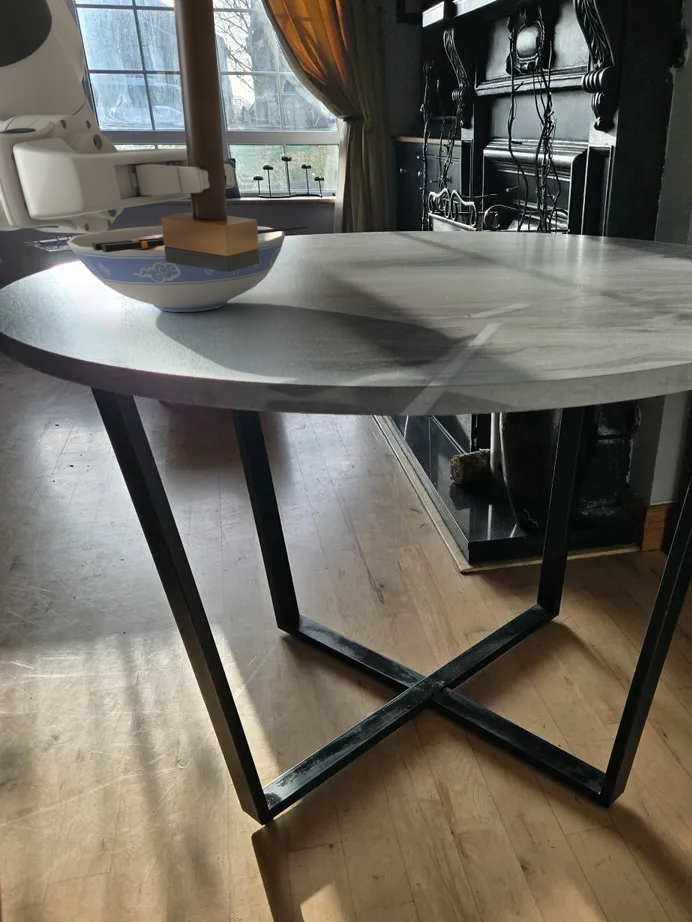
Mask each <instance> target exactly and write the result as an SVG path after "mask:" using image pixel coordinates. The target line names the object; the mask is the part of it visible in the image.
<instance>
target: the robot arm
mask: <svg viewBox="0 0 692 922" xmlns="http://www.w3.org/2000/svg"><path fill="white" fill-rule="evenodd" d="M84 74H85V53H84V46H83V41H82V38H81V34H80V32H79V28H78V26H77V23H76V21H75V19H74V16H73V15H72V13H71V11H70V10H69V8H68V5H66V3H65V2H64V0H0V232H2V231H3V232H7V231H9V232H11V231H12V232H13V231H17V230H20V229H34V230H36V231H39V232H44V233H61V234H63V233H64V234H89V233H90V234H97V233H101V232H104V231H108V229H110V228H111V226H112V224H113V223H114V222H115V220H116V218H117V217H118V216H119V215H121V213H122V212H123V211H124V209H127V208H133V207H140V206H146V205H152V204H159V203H166V202H172V201H178V200H186V199H191V194H190V193H201V192H206V191H208V190H209V188H210V182H209V180H208V177H209V175H208V171H207V169H206V168H204V167H192V166H188V160H187V149H186V148H137V149H117V147H116V146H115V144H114V143H113V142H112V141H111V140H110V139H109V138H108V137H107V136H106V135H104V134H102V131H101V129H100V126H99V124H98V122H97V119H96V117H95V114H94V112H93V109H92V108H91V105H90V103H89V100H88V98H87V96H86V94H85V91H84V89H83V86H82V81H83V79H84ZM224 175H225V190H226V189H233V188H234V187H235V185H236V181H235V179H236V178H235V171H234V168H233V166H232V165H231V164H229V163H224Z"/></svg>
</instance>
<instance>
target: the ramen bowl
mask: <svg viewBox="0 0 692 922" xmlns="http://www.w3.org/2000/svg"><path fill="white" fill-rule="evenodd" d="M257 228H258V249H259V264H255V265H252V266H248V267H245V268H241V269H238V270H234V271H230V272H225V271H219V270H213V269H206V268H200V267H194V266H187V265H181V264H175V263H169V262H166V257H165V248H164V247H165V246H164V238H163V229H162V225H153V226H140V227H126V228H119V229H110V230H106V231H104V232H101V233H97V234H90V233H84V234H80V235H76V236H73V237H71V238H70V239H69V240H67V241H66V243H67V245H68V247H70V249H71V250H72V252H73V253H74V255H75V256H76V258H77V259H78V260H79V261H80V262H81V264H83V265H84V266H85V268H86V269H88V271H89V272H90V273H91V274H92V275H93V276H94V277H96V278H97V279H98V280H99V281H100V282H101V283H102V284H103V285H104V286H107V287H108V288H110V289H111V290H114V291H115V292H117V293H119V294H121V295H122V296H125V297H127V298H130V299H132V300H135V301H138V302H141V303H144V304H148V305H151V306H153V307H155V308H157V309H158V310H161V311H164V312H170V313H197V312H204V311H210V310H215V309H220V308H221V307H223V306H224V305H226V304H227V303H228V302H229V300H232V299H234V298H236V297H238V296H240V295H242V294H245V293H246V292H248V291H249V290H251V289H253V288H255V287H256V286H258V284H260V283H261V282H262V281H263V280H265V278H266V277H267V276H268V274H269V273H270V271H271V270H272V268H273V267H274V264H275V263H276V261H277V259H278V257H279V255H280V252H281V250H282V247H283V244H284V241H285V238H286V234H285V231H286V232H287V231H294V230H302V229H308V228H309V227H308V226H305V225H303V226H292V227H291V226H290V227H278V228H277V227H276V228H273V227H268V226H259V225H257Z"/></svg>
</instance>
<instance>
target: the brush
mask: <svg viewBox="0 0 692 922" xmlns="http://www.w3.org/2000/svg"><path fill="white" fill-rule="evenodd" d="M214 12H215V11H214V0H173V13H174V23H175V35H176V36H175V37H176V45H177V46H176V47H177V57H178V67H179V68H178V69H179V70H178V71H179V80H180V91H181V102H182V113H183V124H184V136H185V146H186V147H185V149H187V160H188V166H192V167H204V168H206V169H207V171H208V175H209V177H208V180H209V182H210V188H209V190H208V191H206V192H201V193H190V194H191V198H190V206H191V211H189V212H188V211H187V212H182V213H174V214H169V215H161V217H160V219H161V226H162V229H163V238H164V246H165V247H164V248H165V257H166V262H169V263H175V264H181V265H187V266H194V267H200V268H206V269H213V270H219V271H225V272H230V271H234V270H238V269H241V268H245V267H248V266H252V265H255V264H259V249H258V228H257V226H258V219H254V218H247V217H240V216H234V215H228V206H227V191H226V189H225V175H224V164H225V162H224V161H225V160H224V148H223V145H224V144H223V131H222V116H221V102H220V101H221V100H220V88H219V87H220V86H219V73H218V58H217V57H218V56H217V43H216V41H217V40H216V29H215V27H216V26H215V14H214Z"/></svg>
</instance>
